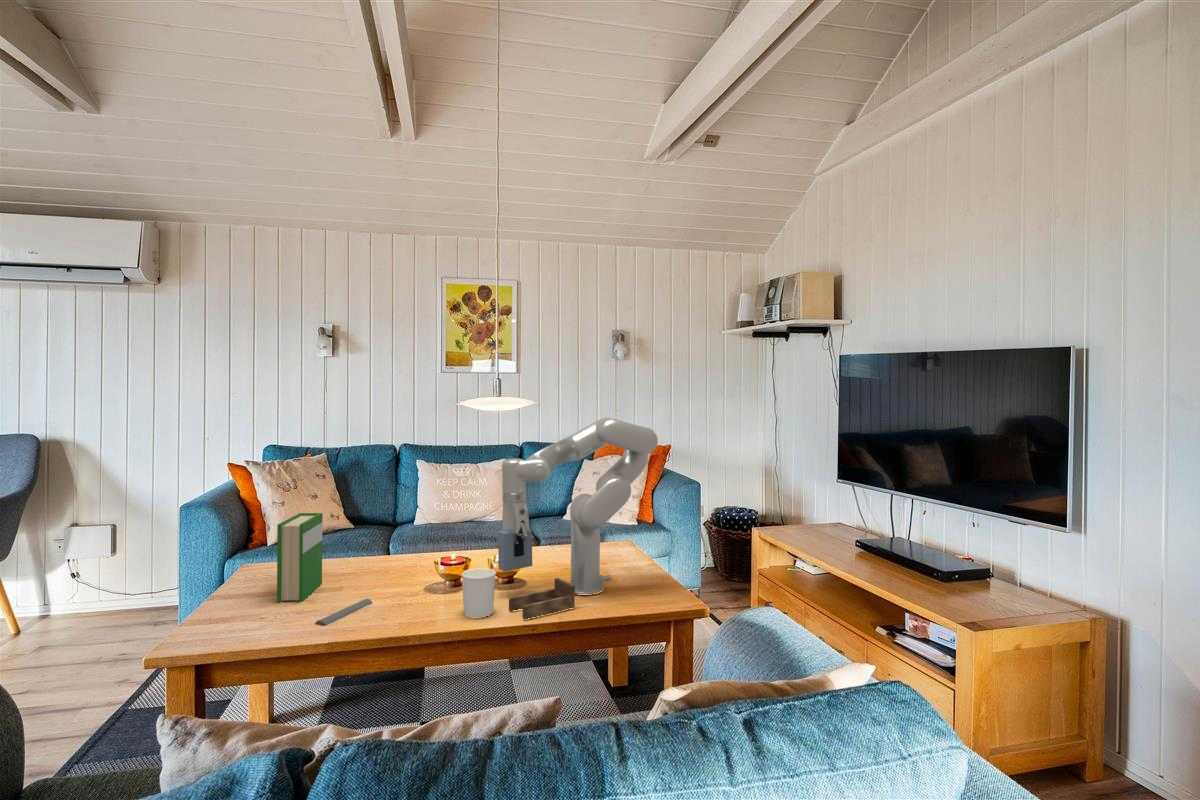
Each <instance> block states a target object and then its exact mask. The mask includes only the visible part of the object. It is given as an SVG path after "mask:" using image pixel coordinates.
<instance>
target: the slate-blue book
mask: <svg viewBox="0 0 1200 800" xmlns="http://www.w3.org/2000/svg"><path fill="white" fill-rule="evenodd" d="M532 531H533V529H532V528H530V527H529V533H527V538H525V540H524V541H525V542H524V555H523V556H518V557H515V556H514V544H515V536H514V534H513V533H512V532H510V531H507V530H500V531H499V530H498V531H497V540H498V542H497V543H498V544H497V546H498V548H497V549H498V550H497V551H498V570H500V571H502V572H504V573H506V572H509V571H510V572H511V571H515V570H519V569H525V568H528V567H529V568H530V567H533V540H532V539H533V536H532V535H533V532H532ZM519 533H521V532H519ZM519 533H518V534H519ZM520 536H521V535H520ZM520 536H518V538H519V537H520Z"/></svg>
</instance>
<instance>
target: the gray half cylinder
mask: <svg viewBox="0 0 1200 800" xmlns="http://www.w3.org/2000/svg"><path fill="white" fill-rule="evenodd" d="M370 604H371V605H373V601H372V600H371V599H369V598H365V599H362V600H359V601H358V602H356V603H353V604H352V605H349V606H347V607H345V608H343V609H341V610H338V611H336V612H334V613H332V614H330V615H327V616H325V617H322V618H321V619H319V620H316V621H315V624H316V625H319V624H320V626H325V625H326V626H329V625H331V624H333V623H335V622H337V621H339V620H338V619H340V620H341V618H342V619H343V617H344V618H346V617H348V616H350V615H352V614H354V613H356V612H358V611H357V610H359V609H361V608H363V607H365V606H367V605H369V606H370ZM367 607H368V606H367ZM365 608H366V607H365ZM363 609H364V608H363ZM361 610H362V609H361ZM355 611H356V612H355ZM359 611H360V610H359ZM353 612H354V613H353ZM351 613H352V614H351ZM349 614H350V615H349ZM347 615H348V616H347ZM345 616H346V617H345ZM336 620H337V621H336ZM334 621H335V622H334ZM330 623H331V624H330ZM328 624H329V625H328Z"/></svg>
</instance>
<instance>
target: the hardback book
mask: <svg viewBox="0 0 1200 800" xmlns="http://www.w3.org/2000/svg"><path fill="white" fill-rule="evenodd" d="M276 526H277V528H276V529H277V531H276V532H277V536H276V537H277V541H276V545H277V546H276V548H277V549H276V550H277V551H276V552H277V553H276V557H277V558H276V604H281V603H282V602H284V601H299V602H303V601H304V600H305V599H306V600H307V599H308V598H309V597H311V595H313V594H314V593H315V592H316V591H317V590H318V589H319V588H320V587H321V586H322V585H323V512H299V513H297V514H295V515H293V516H291V517H289V518H287V519H285V520H284V521H282V522H279V523H278V524H276ZM321 584H322V585H321ZM320 585H321V586H320ZM318 587H319V588H318ZM317 588H318V589H317ZM316 589H317V590H316ZM315 590H316V591H315ZM314 591H315V592H314ZM313 592H314V593H313ZM312 593H313V594H312ZM308 596H309V597H308ZM306 600H305V601H306ZM281 601H282V602H281ZM305 601H304V602H305ZM280 602H281V603H280ZM304 602H303V603H304Z"/></svg>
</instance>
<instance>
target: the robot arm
mask: <svg viewBox="0 0 1200 800" xmlns="http://www.w3.org/2000/svg"><path fill="white" fill-rule="evenodd" d="M658 440H659V438H658V436H657V434H656V431H654V430H653V429H651V428H649V427H645V426H642V425H637V424H634V423H630V422H625V421H623V420H620V419H617V418H612V417H602V418H600V419H597V420H595V421H594V422H592V423H590V424H589V425H587V426H585V427H583V428H581V429H580V430H578V431H576V432H574V433H572V434H571V435H569V436H567V437H565V438H562V439H561V440H559V441H557V442H554V443H552V444H549V445H548V446H546V447H544V448H541V449H540V450H539V451H537V452H534V453H533V454H531V455H529V456H528V457H527V458H526V459H525V460H524V459H522V458H507V459H504V460H503V461H502V462H501V483H502V485H501V488H502V489H501V490H502V493H501V494H502V519H501V521H502V529H503V530H502V531H504V530H507V531H510V532H512V533H513V534H514V536H515V544H514V556H515V557H518V556H523V555H524V542H525V541H524V540H525V538H527V533H529V528H530V518H529V510H528V509H529V508H528V504H527V482H534V483H535V482H536V483H537V482H538V483H539V482H543V481H546V480H547V479H548V478H549V477H550V475H551V470H552V469H554V468H556V467H558V466H560V465H562V464H565V463H569V462H576V461H579V460H582V459H584V458H586V457H587V456H590V455H591V454H593V453H595V452H597V451H598V450H600V449H601V448H604V447H606V446H607V445H610V446H612V447H616V448H620V449H623V450H624V452H623V454H622V456H621V457H619V459H618V460H617V461H616V462H615V463H614V464H613V465H612V466H611V467H610V468H609V469H608V470H607V471H606V472H604V473H603V474H602V475H601V476H600V477H599V478H598V479H597V480H596V483H595V490H596V491H595V492H594V493H593V494H589V493H581V494H579V495H577V496H575V498H574V499H573V500H572V502H571V504H570V509H569V511H570V512H569V513H570V514H569V515H570V516H569V517H570V528H571V529H570V530H571V531H570V533H571V534H570V536H571V537H570V538H571V539H570V541H571V542H570V582H569V583H570V584H572V585H574V586H575V594H593V593H597V592H600V591H602V590H603V589H604V590H605V586H604V585H603V584H604V582H609V581H612V576H611V575H610V574H607V575H606V574H605V575H604V574H600V573H601V572H600V570H601V569H600V568H601V567H600V565H601V563H600V562H601V557H600V556H601V555H600V554H601V527H602V526H603V525H605V524H606V523H607V522H609V520H610V519H611V518H612V517H614V516H615V514H617V513H618V512H619V510H621V509H622V508H623V507H624V506H625V505H626V503H627V502H628V501H629V499H630V497H631V495H632V487H631V486H632V484H633V482H635V481H636V479H637V478H638V477H639V476H640V475H641V474H642V473H643V471H645V468H646V465H647V463H648V456H649V454H650V453H652V452H653V451H654V450H655V449H656V448H657V446H658V442H659V441H658ZM519 532H521V533H519ZM518 533H519V534H518ZM520 535H521V536H520ZM518 536H520V537H519V538H518Z"/></svg>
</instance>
